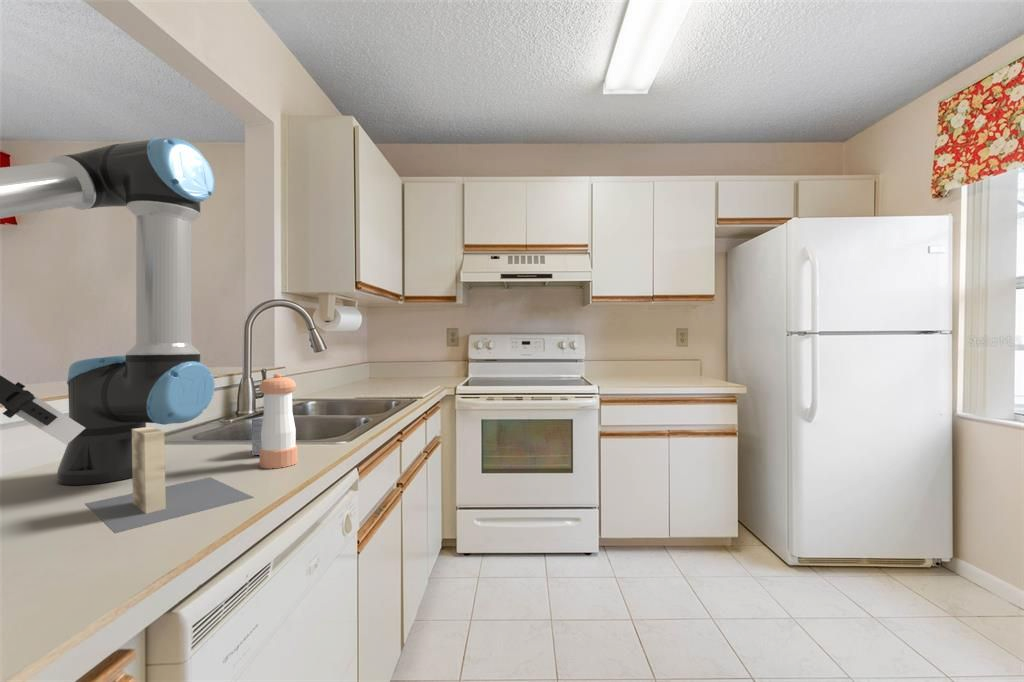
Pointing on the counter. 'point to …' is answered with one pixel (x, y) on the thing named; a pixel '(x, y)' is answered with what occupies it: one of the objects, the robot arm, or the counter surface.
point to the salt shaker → (278, 423)
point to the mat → (167, 504)
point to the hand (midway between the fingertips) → (66, 430)
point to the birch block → (148, 469)
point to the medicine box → (256, 435)
